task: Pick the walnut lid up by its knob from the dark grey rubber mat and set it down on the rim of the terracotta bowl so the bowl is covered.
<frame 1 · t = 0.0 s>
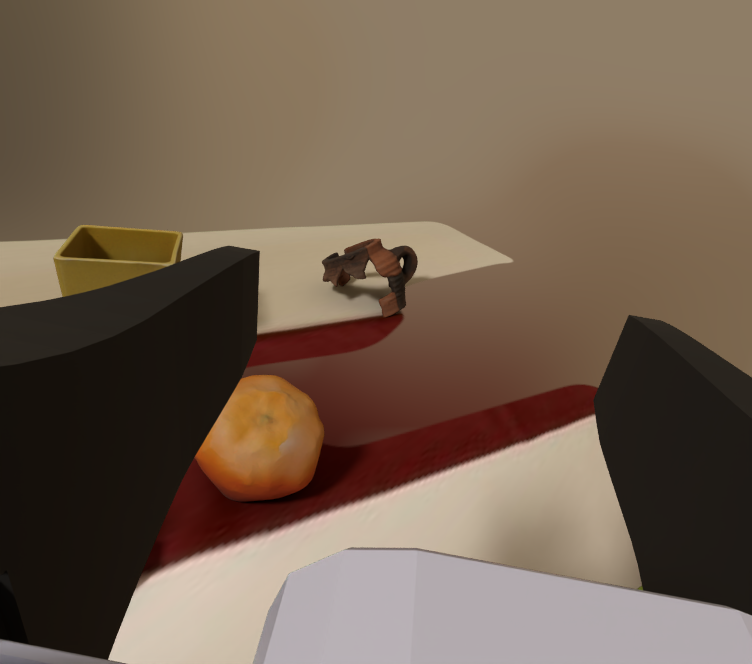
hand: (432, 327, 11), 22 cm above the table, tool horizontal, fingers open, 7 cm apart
flower pot: (128, 340, 52), on the table
pottery mug: (370, 300, 69), on the table
fruit: (254, 482, 38), on the table
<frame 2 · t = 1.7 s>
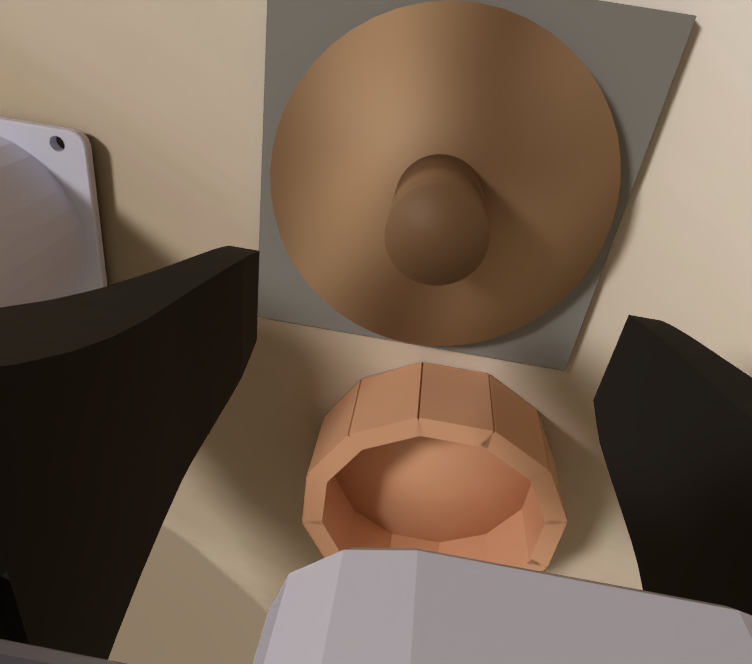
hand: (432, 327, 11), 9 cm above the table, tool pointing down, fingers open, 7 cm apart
mat: (439, 188, 20), on the table
lid: (439, 191, 19), resting on mat
bowl: (432, 460, 26), on the table
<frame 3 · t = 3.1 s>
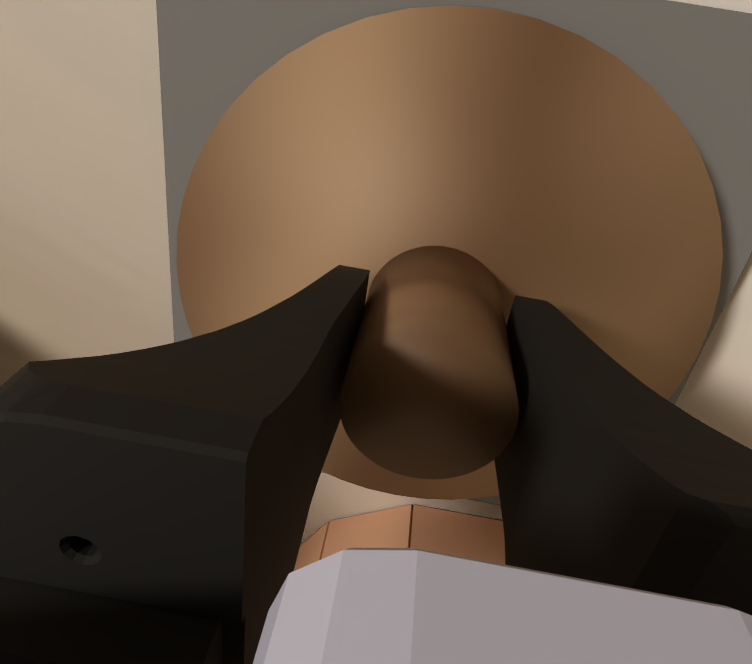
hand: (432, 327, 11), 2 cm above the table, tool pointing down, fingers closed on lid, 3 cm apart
mat: (435, 283, 13), on the table
lid: (434, 291, 13), resting on mat, touching gripper
bowl: (427, 616, 19), on the table
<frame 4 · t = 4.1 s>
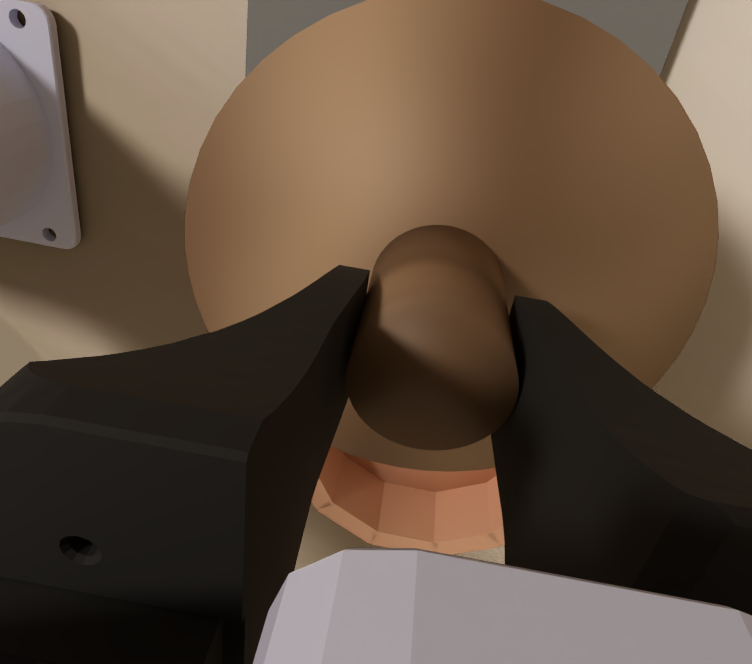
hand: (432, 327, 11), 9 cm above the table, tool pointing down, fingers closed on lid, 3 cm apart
mat: (444, 76, 18), on the table
lid: (437, 269, 13), point 7 cm above the table, touching gripper
bowl: (430, 400, 24), on the table
when the fingers open (6 cm above the table, at t = 5.4 s): lid stays where it is, resting on bowl.
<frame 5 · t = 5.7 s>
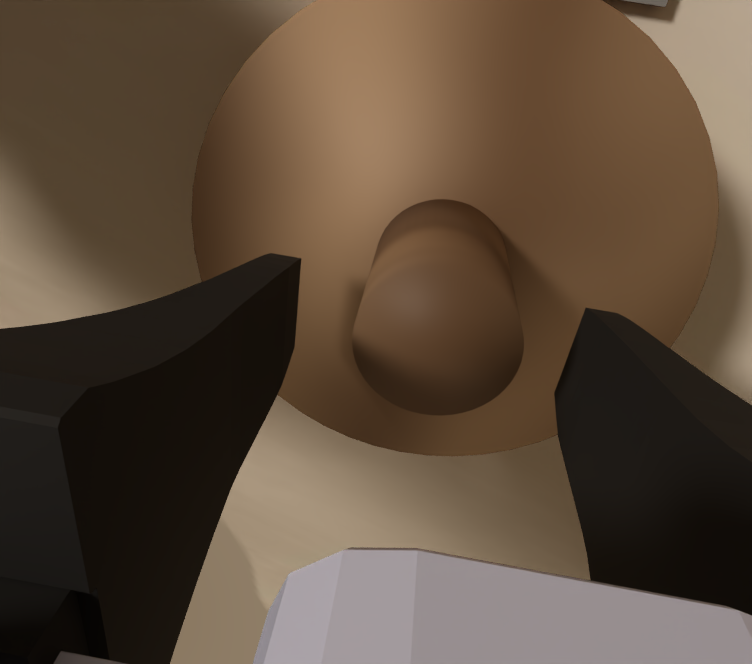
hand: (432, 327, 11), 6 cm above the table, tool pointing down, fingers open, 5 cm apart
lid: (440, 248, 13), point 3 cm above the table, touching bowl
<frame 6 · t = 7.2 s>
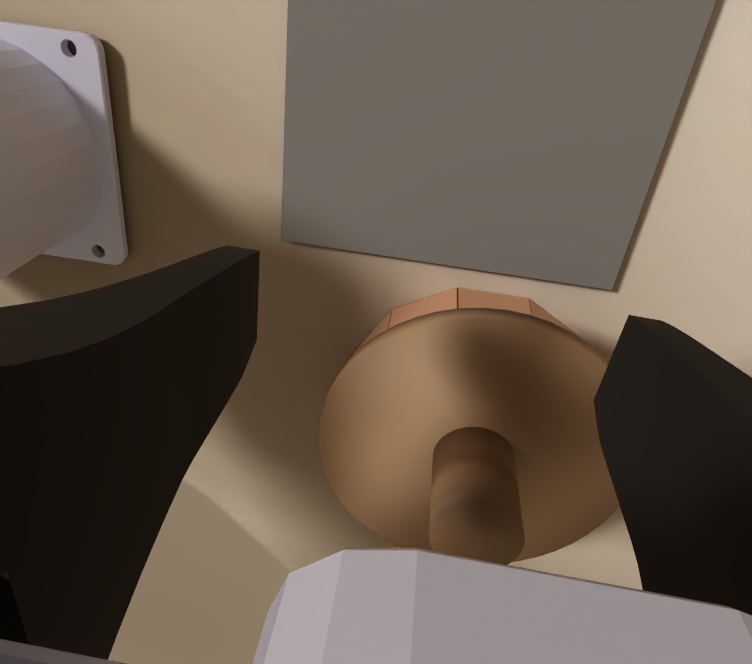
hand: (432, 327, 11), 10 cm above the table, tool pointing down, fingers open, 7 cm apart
mat: (477, 84, 18), on the table
lid: (472, 443, 21), point 3 cm above the table, touching bowl
bowl: (467, 399, 24), on the table
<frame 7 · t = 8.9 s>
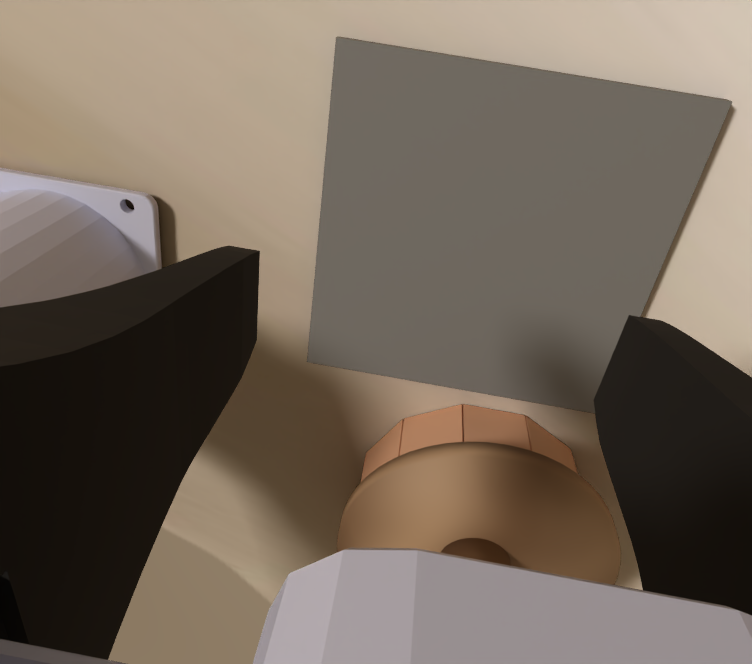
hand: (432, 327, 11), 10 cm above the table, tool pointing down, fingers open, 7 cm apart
mat: (485, 248, 21), on the table
lid: (473, 545, 24), point 3 cm above the table, touching bowl
bowl: (468, 493, 27), on the table
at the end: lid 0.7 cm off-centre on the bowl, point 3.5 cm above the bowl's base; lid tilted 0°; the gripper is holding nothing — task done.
